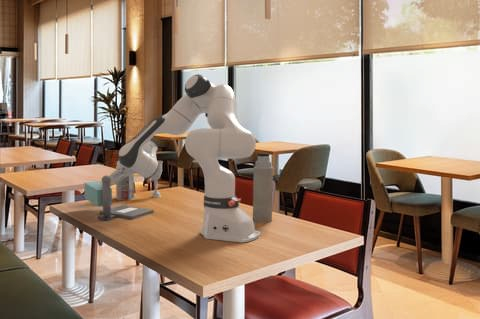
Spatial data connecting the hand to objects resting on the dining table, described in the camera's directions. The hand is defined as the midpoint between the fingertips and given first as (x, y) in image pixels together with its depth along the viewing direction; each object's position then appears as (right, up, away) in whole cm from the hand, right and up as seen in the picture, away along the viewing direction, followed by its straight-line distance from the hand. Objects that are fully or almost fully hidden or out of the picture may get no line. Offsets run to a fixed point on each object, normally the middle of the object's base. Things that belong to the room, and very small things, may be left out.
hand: (104, 188), depth 212 cm
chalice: (+17, -6, +32) cm, 37 cm away
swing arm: (-1, -9, -6) cm, 11 cm away
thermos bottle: (+69, -13, -12) cm, 71 cm away
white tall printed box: (+3, -7, +26) cm, 27 cm away
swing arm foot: (+5, -12, -15) cm, 19 cm away
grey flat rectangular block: (+11, -10, -4) cm, 16 cm away
